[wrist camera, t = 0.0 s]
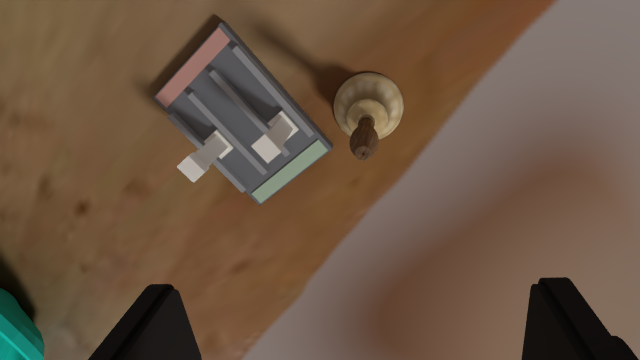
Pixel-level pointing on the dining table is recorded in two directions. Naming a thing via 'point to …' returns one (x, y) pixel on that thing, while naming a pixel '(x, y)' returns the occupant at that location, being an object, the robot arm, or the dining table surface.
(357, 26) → the dining table surface
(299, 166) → the panel
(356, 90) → the hand bell
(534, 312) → the robot arm
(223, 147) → the handle
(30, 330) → the table top decor
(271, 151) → the handle
